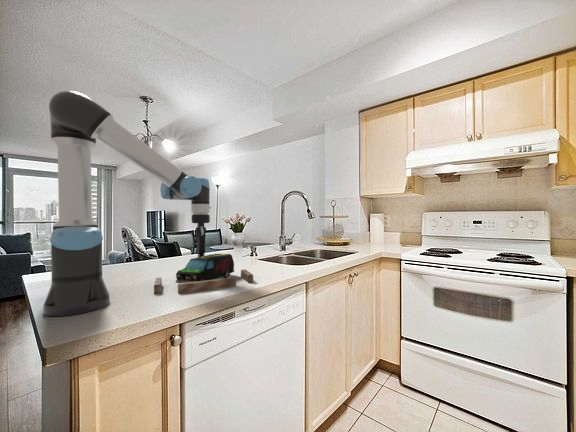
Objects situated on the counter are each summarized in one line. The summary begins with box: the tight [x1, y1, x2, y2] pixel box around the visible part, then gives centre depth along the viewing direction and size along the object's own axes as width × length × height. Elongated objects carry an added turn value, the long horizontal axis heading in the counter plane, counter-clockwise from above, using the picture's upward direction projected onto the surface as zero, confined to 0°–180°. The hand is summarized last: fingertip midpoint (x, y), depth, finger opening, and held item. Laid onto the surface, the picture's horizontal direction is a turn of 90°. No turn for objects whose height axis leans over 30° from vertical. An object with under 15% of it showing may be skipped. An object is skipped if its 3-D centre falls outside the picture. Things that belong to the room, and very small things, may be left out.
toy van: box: [175, 253, 235, 284], centre depth 108 cm, size 11×25×10 cm, turn 158°
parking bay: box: [153, 269, 254, 295], centre depth 101 cm, size 35×15×3 cm, turn 114°
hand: (201, 268), depth 114 cm, fingers closed
